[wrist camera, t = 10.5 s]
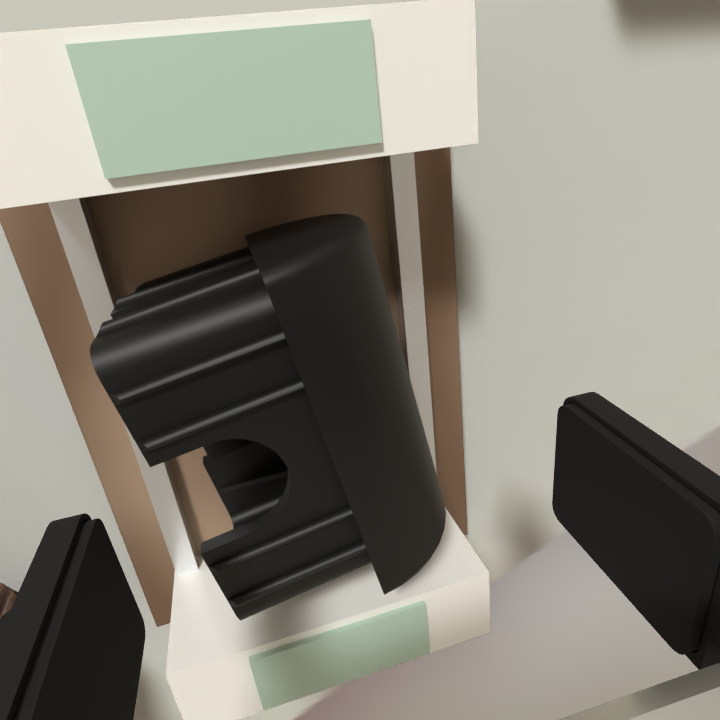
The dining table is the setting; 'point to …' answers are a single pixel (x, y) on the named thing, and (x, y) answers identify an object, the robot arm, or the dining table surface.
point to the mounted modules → (237, 158)
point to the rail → (410, 311)
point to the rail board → (205, 242)
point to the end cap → (283, 408)
